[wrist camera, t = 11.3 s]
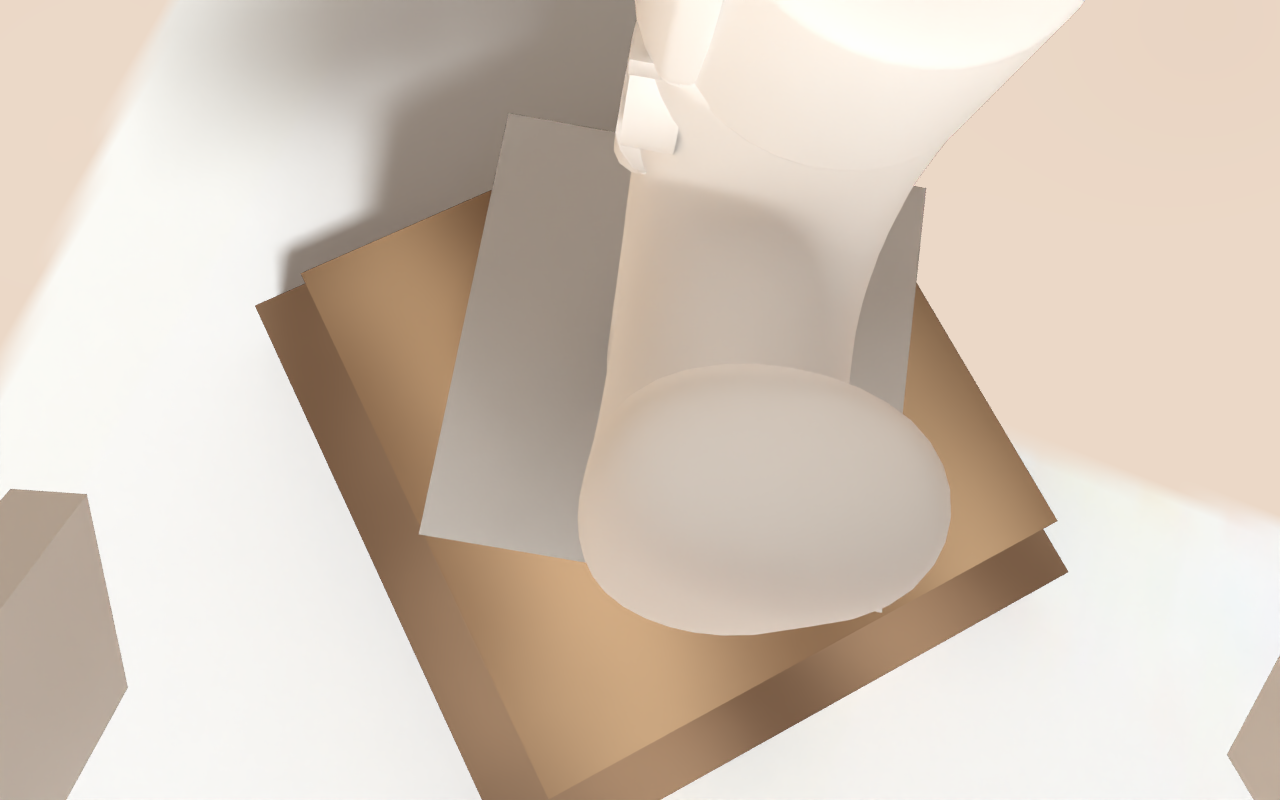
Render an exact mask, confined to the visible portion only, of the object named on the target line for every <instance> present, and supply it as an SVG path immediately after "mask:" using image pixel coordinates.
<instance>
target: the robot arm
mask: <svg viewBox="0 0 1280 800" xmlns="http://www.w3.org/2000/svg"><path fill="white" fill-rule="evenodd" d="M127 688H128V686H127V682H126V677H125V672H124V668H123V663H122V658H121V653H120V649H119V644H118V639H117V635H116V630H115V625H114V620H113V616H112V611H111V606H110V602H109V597H108V592H107V587H106V583H105V578H104V573H103V569H102V564H101V559H100V554H99V550H98V545H97V540H96V536H95V531H94V526H93V521H92V517H91V512H90V507H89V503H88V498H87V494H75V493H61V492H46V491H32V490H17V489H10V490H9V491H8V493H7V494H6V495H5V496H4V497H3V498H2V500H1V501H0V800H66V799H67V797H68V796H69V794H70V792H71V790H72V788H73V786H74V785H75V783H76V781H77V779H78V777H79V775H80V774H81V772H82V770H83V768H84V766H85V765H86V763H87V761H88V759H89V757H90V755H91V754H92V752H93V750H94V748H95V746H96V744H97V743H98V741H99V739H100V737H101V735H102V734H103V732H104V730H105V728H106V726H107V724H108V723H109V721H110V719H111V717H112V715H113V714H114V712H115V710H116V708H117V706H118V704H119V703H120V701H121V699H122V697H123V695H124V693H125V692H126V690H127ZM1227 756H1228V757H1229V759H1230V761H1231V762H1232V764H1233V766H1234V767H1235V769H1236V771H1237V772H1238V774H1239V776H1240V777H1241V779H1242V781H1243V783H1244V784H1245V786H1246V788H1247V789H1248V791H1249V793H1250V794H1251V796H1252V798H1253V799H1254V800H1280V656H1279V658H1278V660H1277V661H1276V663H1275V665H1274V667H1273V669H1272V671H1271V673H1270V675H1269V677H1268V678H1267V680H1266V682H1265V684H1264V686H1263V688H1262V690H1261V692H1260V694H1259V695H1258V697H1257V699H1256V701H1255V703H1254V705H1253V707H1252V709H1251V711H1250V712H1249V714H1248V716H1247V718H1246V720H1245V722H1244V724H1243V726H1242V727H1241V729H1240V731H1239V733H1238V735H1237V737H1236V739H1235V741H1234V743H1233V744H1232V746H1231V748H1230V750H1229V752H1228V754H1227Z"/></svg>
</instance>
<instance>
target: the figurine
mask: <svg viewBox="0 0 1280 800" xmlns="http://www.w3.org/2000/svg"><path fill="white" fill-rule="evenodd" d="M1084 1H1085V0H635V8H636V17H637V20H636V23H635V27H634V31H633V35H632V40H631V45H630V51H629V57H628V62H627V68H626V73H625V78H624V84H623V89H622V94H621V101H620V107H619V113H618V119H617V126H616V132H612V131H607V130H601V129H596V128H590V127H585V126H579V125H573V124H568V123H562V122H557V121H551V120H546V119H540V118H535V117H529V116H524V115H518V114H513V113H508V117H507V122H506V126H505V131H504V136H503V140H502V145H501V150H500V155H499V159H498V164H497V169H496V173H495V178H494V183H493V187H492V192H491V197H490V202H489V206H488V211H487V216H486V220H485V225H484V230H483V234H482V239H481V244H480V249H479V253H478V258H477V263H476V267H475V272H474V277H473V282H472V286H471V291H470V296H469V300H468V305H467V310H466V314H465V319H464V324H463V329H462V333H461V338H460V343H459V347H458V352H457V357H456V362H455V366H454V371H453V376H452V380H451V385H450V390H449V394H448V399H447V404H446V409H445V413H444V418H443V423H442V427H441V432H440V437H439V441H438V446H437V451H436V456H435V460H434V465H433V470H432V474H431V479H430V484H429V489H428V493H427V498H426V503H425V507H424V512H423V517H422V521H421V526H420V531H419V534H420V535H426V536H432V537H438V538H443V539H449V540H455V541H461V542H467V543H473V544H479V545H485V546H491V547H497V548H503V549H508V550H514V551H520V552H526V553H532V554H538V555H544V556H550V557H556V558H562V559H567V560H573V561H579V562H585V563H586V564H587V566H588V568H589V570H590V572H591V574H592V576H593V578H594V579H595V580H596V581H597V583H598V584H599V585H600V586H601V588H602V589H603V590H604V591H605V593H607V594H608V595H609V596H610V597H612V598H613V599H614V600H615V601H617V602H618V603H619V604H620V605H622V606H623V607H625V608H627V609H629V610H630V611H632V612H634V613H636V614H638V615H640V616H642V617H643V618H646V619H648V620H651V621H654V622H657V623H659V624H662V625H665V626H668V627H672V628H676V629H680V630H685V631H689V632H693V633H703V634H712V635H723V636H728V635H757V634H765V633H771V632H778V631H784V630H791V629H797V628H804V627H811V626H817V625H823V624H829V623H835V622H841V621H847V620H851V619H855V618H858V617H860V616H863V615H866V614H868V613H871V612H880V613H882V608H884V607H886V606H889V605H890V604H892V603H893V602H895V601H896V600H898V599H899V598H901V597H902V596H904V595H905V594H907V593H908V592H910V591H911V590H913V588H914V587H915V586H916V585H917V584H918V583H919V582H920V581H921V579H922V578H923V577H924V576H925V575H926V574H927V573H928V572H929V570H930V569H931V568H932V567H933V566H934V564H935V562H936V560H937V558H938V556H939V554H940V552H941V550H942V548H943V546H944V544H945V542H946V537H947V533H948V528H949V524H950V519H951V504H950V488H949V484H948V481H947V477H946V473H945V470H944V466H943V464H942V462H941V460H940V458H939V457H938V455H937V453H936V451H935V449H934V448H933V446H932V444H931V442H930V441H929V440H928V439H927V438H926V436H925V435H924V434H923V433H922V432H921V431H920V430H919V428H918V427H917V426H916V425H915V424H914V423H913V422H912V421H911V420H910V419H909V418H907V417H906V416H905V415H903V405H904V395H905V385H906V376H907V366H908V357H909V347H910V337H911V328H912V318H913V309H914V299H915V289H916V280H917V270H918V260H919V251H920V240H921V231H922V222H923V211H924V203H925V193H926V188H922V187H916V186H914V184H915V183H916V181H917V180H918V179H919V177H920V176H921V175H922V173H923V171H924V170H925V169H926V167H927V166H928V165H929V164H930V162H931V161H932V160H933V158H934V157H935V156H936V154H937V153H938V152H939V150H940V149H941V148H942V147H943V145H944V144H945V143H946V142H947V140H948V139H949V138H950V137H951V136H952V135H953V134H955V132H957V131H958V129H960V128H961V127H962V126H963V125H964V124H965V123H966V121H968V120H969V119H970V118H971V116H973V115H974V114H975V113H976V112H977V111H978V110H979V109H980V107H982V106H983V105H984V104H985V103H986V102H987V101H988V100H989V99H990V98H991V97H992V96H993V95H994V94H995V93H996V91H998V90H999V88H1001V87H1002V86H1003V85H1004V84H1005V82H1007V81H1008V80H1009V79H1010V78H1011V77H1012V76H1013V75H1014V74H1015V73H1016V72H1017V71H1018V70H1019V68H1021V67H1022V66H1023V65H1024V64H1025V63H1026V62H1027V61H1028V60H1029V59H1030V58H1031V56H1033V55H1034V54H1035V52H1037V50H1039V49H1040V48H1041V47H1042V46H1043V45H1044V44H1045V43H1046V41H1047V40H1048V39H1050V38H1051V37H1052V36H1053V35H1054V33H1056V32H1057V31H1058V30H1059V29H1060V28H1061V27H1062V25H1064V23H1066V22H1067V21H1068V19H1070V17H1072V16H1073V15H1074V14H1075V13H1076V12H1077V11H1078V10H1079V9H1080V7H1081V5H1082V4H1083V3H1084Z"/></svg>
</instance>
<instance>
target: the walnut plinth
mask: <svg viewBox="0 0 1280 800" xmlns="http://www.w3.org/2000/svg"><path fill="white" fill-rule="evenodd" d="M491 192H492V190H490V191H488V192H486V193H483V194H481V195H479V196H477V197H474V198H472V199H470V200H467V201H465V202H463V203H461V204H458V205H456V206H454V207H451V208H449V209H447V210H445V211H442V212H440V213H438V214H435V215H433V216H431V217H429V218H426V219H424V220H422V221H419V222H417V223H415V224H413V225H410V226H408V227H406V228H403V229H401V230H399V231H397V232H394V233H392V234H390V235H387V236H385V237H383V238H381V239H378V240H376V241H374V242H371V243H369V244H367V245H365V246H362V247H360V248H358V249H355V250H353V251H351V252H349V253H346V254H344V255H342V256H339V257H337V258H335V259H333V260H330V261H328V262H326V263H323V264H321V265H319V266H317V267H314V268H312V269H310V270H307V271H305V272H303V273H301V275H302V277H303V279H304V281H305V284H303V285H301V286H299V287H296V288H294V289H292V290H289V291H287V292H285V293H283V294H280V295H278V296H276V297H274V298H271V299H269V300H267V301H264V302H262V303H260V304H258V305H255V307H256V309H257V311H258V313H259V315H260V318H261V320H262V322H263V324H264V326H265V328H266V331H267V333H268V335H269V337H270V339H271V342H272V344H273V346H274V348H275V350H276V352H277V355H278V357H279V359H280V361H281V363H282V365H283V368H284V370H285V372H286V374H287V376H288V379H289V381H290V383H291V385H292V387H293V389H294V392H295V394H296V396H297V398H298V400H299V402H300V405H301V407H302V409H303V411H304V413H305V416H306V418H307V420H308V422H309V424H310V426H311V429H312V431H313V433H314V435H315V437H316V439H317V442H318V444H319V446H320V448H321V450H322V453H323V455H324V457H325V459H326V461H327V463H328V466H329V468H330V470H331V472H332V474H333V476H334V479H335V481H336V483H337V485H338V487H339V490H340V492H341V494H342V496H343V498H344V500H345V503H346V505H347V507H348V509H349V511H350V514H351V516H352V518H353V520H354V522H355V524H356V527H357V529H358V531H359V533H360V535H361V537H362V540H363V542H364V544H365V546H366V548H367V551H368V553H369V555H370V557H371V559H372V561H373V564H374V566H375V568H376V570H377V572H378V574H379V577H380V579H381V581H382V583H383V585H384V588H385V590H386V592H387V594H388V596H389V598H390V601H391V603H392V605H393V607H394V609H395V611H396V614H397V616H398V618H399V620H400V622H401V625H402V627H403V629H404V631H405V633H406V635H407V638H408V640H409V642H410V644H411V646H412V648H413V651H414V653H415V655H416V657H417V659H418V662H419V664H420V666H421V668H422V670H423V672H424V675H425V677H426V679H427V681H428V683H429V685H430V688H431V690H432V692H433V694H434V696H435V699H436V701H437V703H438V705H439V707H440V709H441V712H442V714H443V716H444V718H445V720H446V722H447V725H448V727H449V729H450V731H451V733H452V736H453V738H454V740H455V742H456V744H457V746H458V749H459V751H460V753H461V755H462V757H463V759H464V762H465V764H466V766H467V768H468V770H469V773H470V775H471V777H472V779H473V781H474V783H475V786H476V788H477V790H478V792H479V794H480V796H481V799H482V800H661V799H663V798H664V797H666V796H668V795H670V794H672V793H673V792H675V791H677V790H679V789H680V788H682V787H684V786H686V785H688V784H689V783H691V782H693V781H695V780H697V779H698V778H700V777H702V776H704V775H706V774H707V773H709V772H711V771H713V770H715V769H716V768H718V767H720V766H722V765H723V764H725V763H727V762H729V761H731V760H732V759H734V758H736V757H738V756H740V755H741V754H743V753H745V752H747V751H749V750H750V749H752V748H754V747H756V746H758V745H759V744H761V743H763V742H765V741H766V740H768V739H770V738H772V737H774V736H775V735H777V734H779V733H781V732H783V731H784V730H786V729H788V728H790V727H792V726H793V725H795V724H797V723H799V722H801V721H802V720H804V719H806V718H808V717H809V716H811V715H813V714H815V713H817V712H818V711H820V710H822V709H824V708H826V707H827V706H829V705H831V704H833V703H835V702H836V701H838V700H840V699H842V698H844V697H845V696H847V695H849V694H851V693H852V692H854V691H856V690H858V689H860V688H861V687H863V686H865V685H867V684H869V683H870V682H872V681H874V680H876V679H878V678H879V677H881V676H883V675H885V674H887V673H888V672H890V671H892V670H894V669H895V668H897V667H899V666H901V665H903V664H904V663H906V662H908V661H910V660H912V659H913V658H915V657H917V656H919V655H921V654H922V653H924V652H926V651H928V650H930V649H931V648H933V647H935V646H937V645H938V644H940V643H942V642H944V641H946V640H947V639H949V638H951V637H953V636H955V635H956V634H958V633H960V632H962V631H964V630H965V629H967V628H969V627H971V626H973V625H974V624H976V623H978V622H980V621H981V620H983V619H985V618H987V617H989V616H990V615H992V614H994V613H996V612H998V611H999V610H1001V609H1003V608H1005V607H1007V606H1008V605H1010V604H1012V603H1014V602H1016V601H1017V600H1019V599H1021V598H1023V597H1024V596H1026V595H1028V594H1030V593H1032V592H1033V591H1035V590H1037V589H1039V588H1041V587H1042V586H1044V585H1046V584H1048V583H1050V582H1051V581H1053V580H1055V579H1057V578H1059V577H1060V576H1062V575H1064V574H1066V573H1067V572H1068V570H1067V569H1066V567H1065V565H1064V564H1063V562H1062V560H1061V559H1060V557H1059V555H1058V553H1057V552H1056V550H1055V548H1054V547H1053V545H1052V543H1051V542H1050V540H1049V538H1048V536H1047V535H1046V533H1045V531H1044V530H1043V529H1044V528H1046V527H1047V526H1049V525H1051V524H1053V523H1055V522H1056V521H1057V519H1056V518H1055V516H1054V514H1053V512H1052V511H1051V509H1050V507H1049V506H1048V504H1047V502H1046V501H1045V499H1044V497H1043V496H1042V494H1041V492H1040V491H1039V489H1038V487H1037V485H1036V484H1035V482H1034V480H1033V479H1032V477H1031V475H1030V474H1029V472H1028V470H1027V469H1026V467H1025V465H1024V463H1023V462H1022V460H1021V458H1020V457H1019V455H1018V453H1017V452H1016V450H1015V448H1014V447H1013V445H1012V443H1011V442H1010V440H1009V438H1008V436H1007V435H1006V433H1005V431H1004V430H1003V428H1002V426H1001V425H1000V423H999V421H998V420H997V418H996V416H995V415H994V413H993V411H992V409H991V408H990V406H989V404H988V403H987V401H986V399H985V398H984V396H983V394H982V393H981V391H980V389H979V387H978V386H977V384H976V382H975V381H974V379H973V377H972V376H971V374H970V372H969V371H968V369H967V367H966V366H965V364H964V362H963V360H962V359H961V357H960V356H959V354H958V352H957V350H956V349H955V347H954V345H953V344H952V342H951V340H950V339H949V337H948V335H947V334H946V332H945V330H944V329H943V327H942V325H941V324H940V322H939V320H938V318H937V317H936V315H935V313H934V311H933V310H932V308H931V307H930V305H929V303H928V301H927V300H926V298H925V296H924V295H923V293H922V291H921V290H920V288H919V286H918V284H917V283H916V289H915V299H914V309H913V318H912V328H911V337H910V347H909V357H908V366H907V376H906V385H905V395H904V405H903V415H905V416H906V417H907V418H909V419H910V420H911V421H912V422H913V423H914V424H915V425H916V426H917V427H918V428H919V430H920V431H921V432H922V433H923V434H924V435H925V436H926V438H927V439H928V440H929V441H930V442H931V444H932V446H933V448H934V449H935V451H936V453H937V455H938V457H939V458H940V460H941V462H942V464H943V466H944V470H945V473H946V477H947V481H948V484H949V488H950V504H951V519H950V524H949V528H948V533H947V537H946V542H945V544H944V546H943V548H942V550H941V552H940V554H939V556H938V558H937V560H936V562H935V564H934V566H933V567H932V568H931V569H930V570H929V572H928V573H927V574H926V575H925V576H924V577H923V578H922V579H921V581H920V582H919V583H918V584H917V585H916V586H915V587H914V588H913V590H911V591H910V592H908V593H907V594H905V595H904V596H902V597H901V598H899V599H898V600H896V601H895V602H893V603H892V604H890V605H889V606H886V607H884V608H882V613H880V612H871V613H868V614H866V615H863V616H860V617H858V618H855V619H851V620H847V621H841V622H835V623H829V624H823V625H817V626H811V627H804V628H797V629H791V630H784V631H778V632H771V633H765V634H757V635H728V636H723V635H712V634H703V633H693V632H689V631H685V630H680V629H676V628H672V627H668V626H665V625H662V624H659V623H657V622H654V621H651V620H648V619H646V618H643V617H642V616H640V615H638V614H636V613H634V612H632V611H630V610H629V609H627V608H625V607H623V606H622V605H620V604H619V603H618V602H617V601H615V600H614V599H613V598H612V597H610V596H609V595H608V594H607V593H605V591H604V590H603V589H602V588H601V586H600V585H599V584H598V583H597V581H596V580H595V579H594V578H593V576H592V574H591V572H590V570H589V568H588V566H587V564H586V563H585V562H579V561H573V560H567V559H562V558H556V557H550V556H544V555H538V554H532V553H526V552H520V551H514V550H508V549H503V548H497V547H491V546H485V545H479V544H473V543H467V542H461V541H455V540H449V539H443V538H438V537H432V536H426V535H420V534H419V531H420V526H421V521H422V517H423V512H424V507H425V503H426V498H427V493H428V489H429V484H430V479H431V474H432V470H433V465H434V460H435V456H436V451H437V446H438V441H439V437H440V432H441V427H442V423H443V418H444V413H445V409H446V404H447V399H448V394H449V390H450V385H451V380H452V376H453V371H454V366H455V362H456V357H457V352H458V347H459V343H460V338H461V333H462V329H463V324H464V319H465V314H466V310H467V305H468V300H469V296H470V291H471V286H472V282H473V277H474V272H475V267H476V263H477V258H478V253H479V249H480V244H481V239H482V234H483V230H484V225H485V220H486V216H487V211H488V206H489V202H490V197H491Z"/></svg>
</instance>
